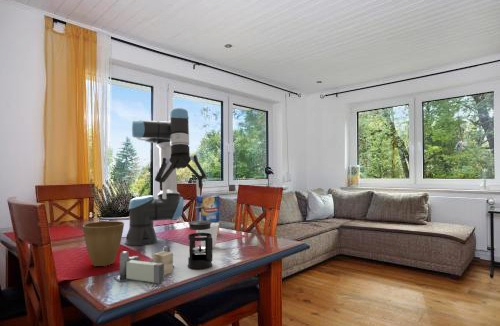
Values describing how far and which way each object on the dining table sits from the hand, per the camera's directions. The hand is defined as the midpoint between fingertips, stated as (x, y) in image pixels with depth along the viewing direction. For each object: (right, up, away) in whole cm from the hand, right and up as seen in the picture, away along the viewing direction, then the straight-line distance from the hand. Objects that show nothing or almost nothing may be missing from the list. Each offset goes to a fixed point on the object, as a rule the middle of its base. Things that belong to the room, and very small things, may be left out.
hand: (181, 197), depth 123 cm
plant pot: (-31, -27, +1) cm, 41 cm away
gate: (-8, -26, -18) cm, 33 cm away
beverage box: (+3, -27, +53) cm, 60 cm away
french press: (+8, -27, -2) cm, 28 cm away
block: (-5, -26, -9) cm, 28 cm away
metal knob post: (-15, -26, -14) cm, 34 cm away
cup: (+7, -27, +26) cm, 38 cm away
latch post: (-5, -26, -4) cm, 27 cm away
